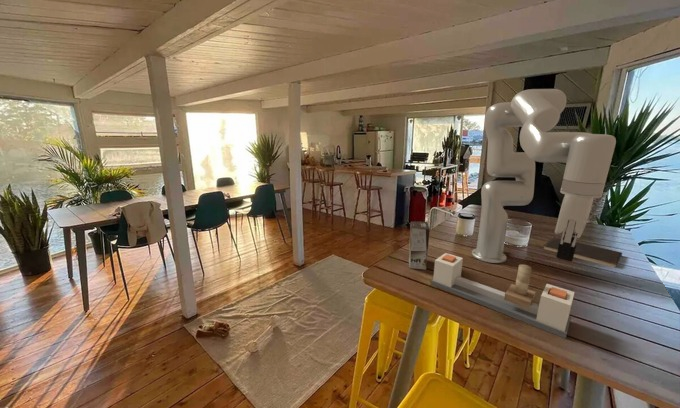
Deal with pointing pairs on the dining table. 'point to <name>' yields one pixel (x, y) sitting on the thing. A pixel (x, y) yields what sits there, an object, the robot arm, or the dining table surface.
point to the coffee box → (418, 245)
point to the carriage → (521, 288)
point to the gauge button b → (558, 293)
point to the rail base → (501, 307)
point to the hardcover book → (588, 252)
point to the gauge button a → (449, 258)
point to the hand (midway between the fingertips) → (564, 258)
